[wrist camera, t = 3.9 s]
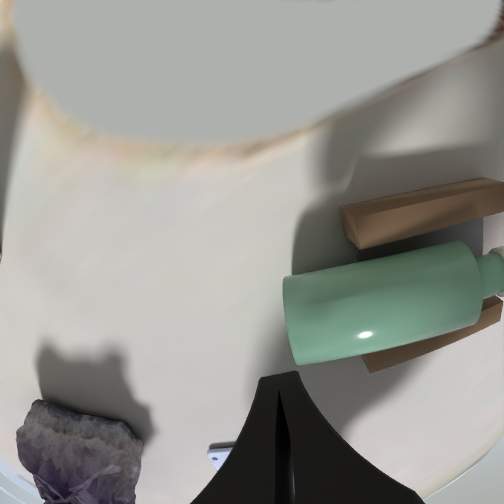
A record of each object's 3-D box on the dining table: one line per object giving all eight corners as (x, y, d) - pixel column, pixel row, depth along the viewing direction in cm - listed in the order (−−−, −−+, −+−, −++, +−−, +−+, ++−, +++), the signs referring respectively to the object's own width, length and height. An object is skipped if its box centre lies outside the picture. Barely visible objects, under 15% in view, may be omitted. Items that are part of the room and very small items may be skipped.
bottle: (301, 332, 17) (485, 289, 15) (300, 384, 13) (521, 325, 11) (285, 263, 16) (486, 220, 14) (279, 303, 12) (530, 244, 9)
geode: (142, 504, 27) (116, 561, 17) (63, 462, 27) (29, 512, 17) (167, 434, 20) (119, 538, 10) (45, 366, 20) (-25, 438, 10)
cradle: (480, 304, 17) (500, 320, 15) (357, 348, 18) (369, 372, 16) (482, 177, 14) (508, 183, 12) (340, 206, 15) (355, 217, 13)
